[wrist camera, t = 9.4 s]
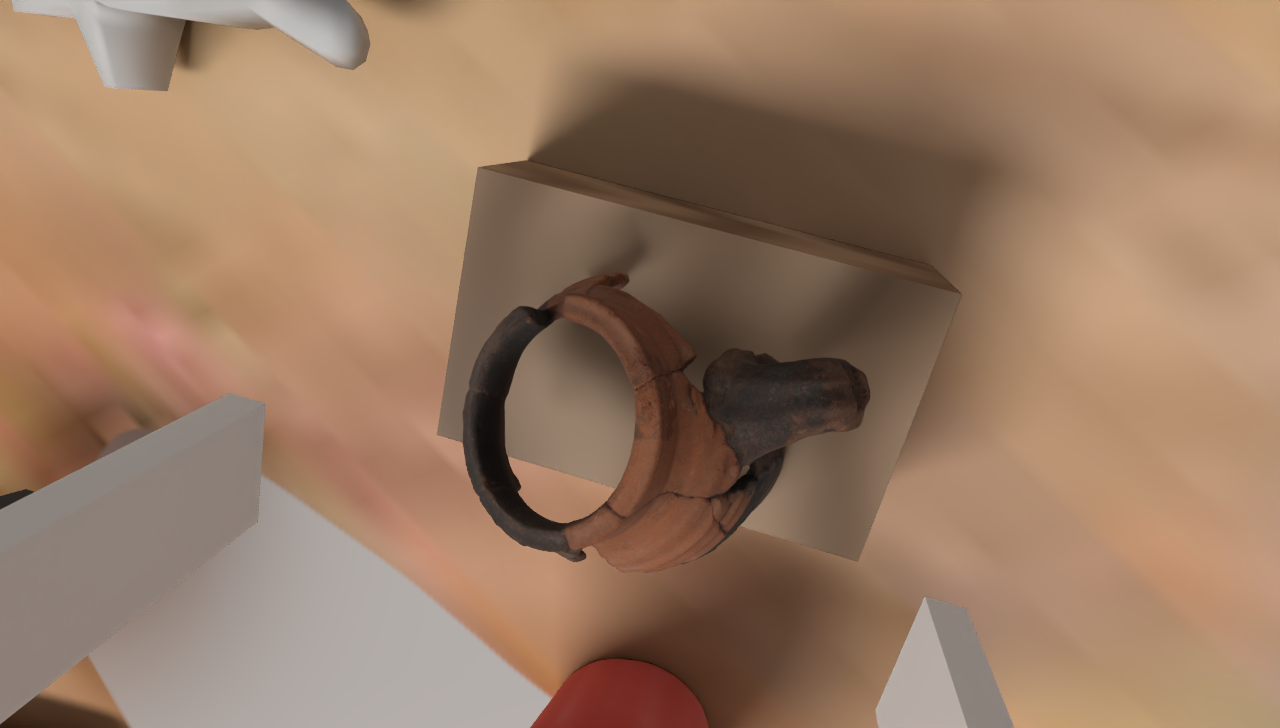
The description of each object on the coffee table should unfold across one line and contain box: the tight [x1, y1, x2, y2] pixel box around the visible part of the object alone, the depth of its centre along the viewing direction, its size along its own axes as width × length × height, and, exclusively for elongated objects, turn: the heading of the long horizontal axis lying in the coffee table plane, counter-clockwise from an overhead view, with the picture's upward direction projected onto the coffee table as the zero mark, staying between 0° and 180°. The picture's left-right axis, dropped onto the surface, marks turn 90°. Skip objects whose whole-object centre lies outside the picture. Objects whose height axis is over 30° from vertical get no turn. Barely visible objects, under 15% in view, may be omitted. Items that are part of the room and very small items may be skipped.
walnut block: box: [437, 160, 962, 562], centre depth 28 cm, size 16×10×5 cm, turn 77°
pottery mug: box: [462, 272, 870, 573], centre depth 23 cm, size 12×10×8 cm
